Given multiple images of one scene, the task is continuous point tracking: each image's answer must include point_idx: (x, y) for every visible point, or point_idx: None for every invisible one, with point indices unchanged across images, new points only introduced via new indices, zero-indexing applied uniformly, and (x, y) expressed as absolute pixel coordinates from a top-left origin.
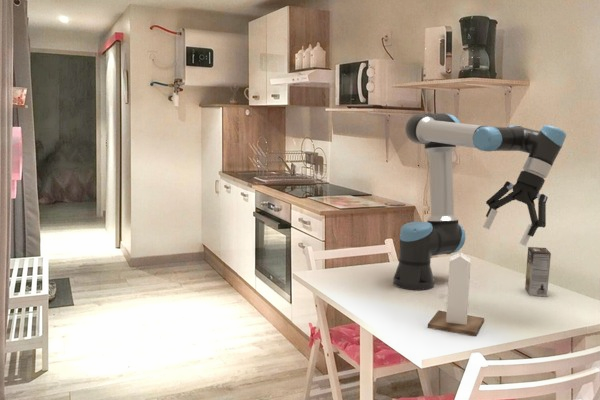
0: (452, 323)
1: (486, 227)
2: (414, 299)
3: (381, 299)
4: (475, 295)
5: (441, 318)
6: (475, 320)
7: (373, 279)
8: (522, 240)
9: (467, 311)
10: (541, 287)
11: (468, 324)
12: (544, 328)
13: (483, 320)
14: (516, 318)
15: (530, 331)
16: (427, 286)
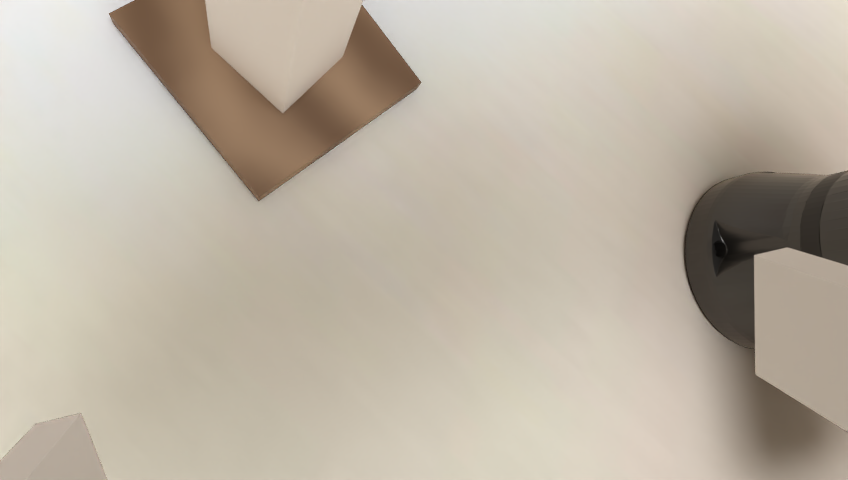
0: None
1: (764, 299)
2: (596, 131)
3: (627, 15)
4: (572, 434)
5: None
6: (245, 131)
7: (830, 154)
8: (11, 462)
9: (207, 13)
10: None
11: (213, 61)
12: None
13: (248, 186)
14: (229, 391)
15: (40, 316)
16: (697, 268)
